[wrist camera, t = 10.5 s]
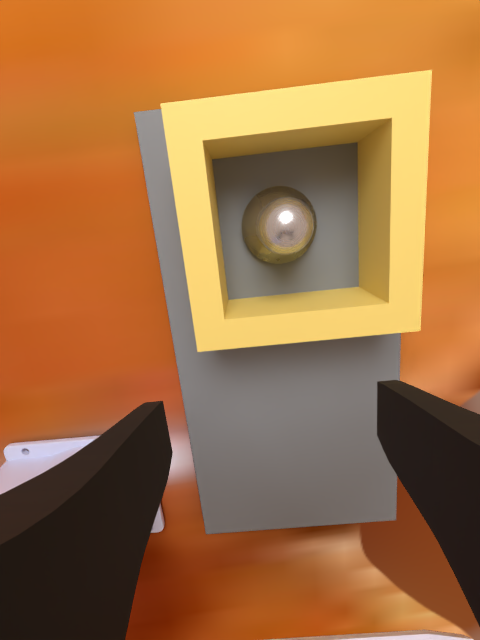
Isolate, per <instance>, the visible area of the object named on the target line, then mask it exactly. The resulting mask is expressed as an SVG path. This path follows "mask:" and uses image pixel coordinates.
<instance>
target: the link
mask: <svg viewBox="0 0 480 640" xmlns="http://www.w3.org/2000/svg"><path fill="white" fill-rule="evenodd" d="M431 77H432V70H427V71H419V72H411V73H403V74H395V75H387V76H379V77H371V78H363V79H355V80H347V81H339V82H331V83H323V84H315V85H307V86H298V87H290V88H282V89H274V90H266V91H258V92H250V93H242V94H234V95H226V96H218V97H210V98H202V99H194V100H186V101H178V102H170V103H162V104H161V111H162V118H163V124H164V131H165V138H166V144H167V151H168V158H169V164H170V171H171V178H172V185H173V191H174V198H175V205H176V211H177V218H178V225H179V231H180V238H181V245H182V251H183V258H184V265H185V271H186V278H187V285H188V292H189V298H190V305H191V312H192V318H193V325H194V332H195V338H196V345H197V352H203V351H214V350H224V349H235V348H245V347H256V346H266V345H277V344H287V343H298V342H308V341H319V340H330V339H340V338H351V337H361V336H372V335H382V334H393V333H403V332H414V331H420V329H421V306H422V283H423V260H424V237H425V214H426V191H427V168H428V145H429V123H430V100H431ZM356 142H358V248H359V287H352V288H342V289H332V290H322V291H312V292H302V293H292V294H282V295H272V296H262V297H252V298H242V299H232V300H228V292H227V284H226V275H225V267H224V258H223V250H222V241H221V232H220V224H219V215H218V207H217V198H216V190H215V181H214V173H213V164H212V159H220V158H228V157H237V156H245V155H254V154H262V153H271V152H279V151H288V150H296V149H305V148H313V147H322V146H330V145H339V144H347V143H356Z"/></svg>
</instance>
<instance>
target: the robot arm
mask: <svg viewBox="0 0 480 640" xmlns="http://www.w3.org/2000/svg"><path fill="white" fill-rule="evenodd" d="M377 436H378V439H379V441H380V443H381V446H382V448H383V450H384V452H385V454H386V457H387V459H388V461H389V463H390V464H391V466H392V468H393V469H394V471H395V473H396V474H397V476H398V477H399V479H400V481H401V482H402V484H403V486H404V487H405V489H406V490H407V492H408V493H409V495H410V496H411V498H412V500H413V501H414V503H415V505H416V506H417V508H418V509H419V511H420V512H421V514H422V516H423V517H424V519H425V520H426V522H427V524H428V525H429V527H430V529H431V530H432V532H433V533H434V535H435V537H436V539H437V541H438V542H439V544H440V546H441V548H442V550H443V552H444V554H445V556H446V558H447V560H448V562H449V564H450V566H451V568H452V570H453V572H454V574H455V576H456V578H457V580H458V582H459V584H460V586H461V588H462V590H463V593H464V595H465V597H466V599H467V601H468V603H469V605H470V607H471V609H472V611H473V613H474V615H475V618H476V620H477V622H478V624H479V626H480V415H479V414H477V413H474V412H472V411H469V410H467V409H464V408H462V407H459V406H457V405H455V404H452V403H450V402H448V401H445V400H443V399H441V398H439V397H436V396H434V395H432V394H430V393H427V392H425V391H423V390H421V389H418V388H416V387H414V386H411V385H409V384H407V383H404V382H401V381H398V380H388V381H377ZM25 448H26V449H28V450H29V451H27V450H26V449H25ZM172 453H173V452H172V447H171V442H170V437H169V431H168V426H167V421H166V416H165V410H164V405H163V401H157V402H146V403H144V404H142V405H140V406H139V407H138V408H136V409H135V410H133V411H132V412H131V413H130V414H128V415H127V416H126V417H124V418H123V419H122V420H120V421H119V422H118V423H117V424H115V425H114V426H113V427H111V428H110V429H109V430H107V431H106V432H105V433H103V434H102V435H100V436H89V437H77V438H66V439H54V440H43V441H32V442H20V443H11V444H9V445H8V446H7V447H5V448H4V455H5V458H6V462H5V463H4V464H3V465H2V466H1V467H0V640H125V637H126V632H127V627H128V622H129V618H130V613H131V608H132V603H133V598H134V594H135V589H136V585H137V580H138V576H139V571H140V567H141V563H142V559H143V556H144V552H145V548H146V545H147V542H148V539H149V536H150V533H155V532H161V531H162V530H163V528H164V525H165V522H164V517H163V513H162V508H161V503H160V502H161V499H162V496H163V493H164V490H165V487H166V483H167V480H168V475H169V470H170V464H171V458H172ZM266 640H474V639H471V638H469V637H467V636H465V635H461V634H454V633H446V632H438V631H430V630H412V631H396V632H380V633H364V634H348V635H331V636H315V637H299V638H283V639H266Z"/></svg>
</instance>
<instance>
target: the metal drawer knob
mask: <svg viewBox="0 0 480 640" xmlns="http://www.w3.org/2000/svg"><path fill="white" fill-rule="evenodd" d="M316 228H317V220H316V214H315V211H314V208H313V206H312V204H311V202H310V201H309V200H308V198H307V197H306V196H305V195H304V194H302V193H301V192H300V191H298V190H296V189H294V188H291V187H287V186H274V187H270V188H267V189H264V190H262V191H261V192H259V193H258V194H257V195H255V196H254V197H253V198H252V199H251V201H250V202H249V203H248V205H247V207H246V209H245V211H244V214H243V218H242V235H243V238H244V241H245V243H246V245H247V247H248V248H249V250H250V251H251V252H252V253H253V254H254V255H255V256H256V257H258V258H259V259H261V260H263V261H266V262H269V263H274V264H282V263H287V262H291V261H293V260H295V259H297V258H298V257H300V256H301V255H302V254H304V253H305V252H306V251H307V249H308V248H309V247H310V245H311V243H312V242H313V239H314V237H315V233H316Z"/></svg>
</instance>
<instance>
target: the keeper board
mask: <svg viewBox="0 0 480 640" xmlns="http://www.w3.org/2000/svg"><path fill="white" fill-rule="evenodd" d="M134 115H135V121H136V127H137V133H138V139H139V145H140V151H141V156H142V162H143V168H144V174H145V180H146V186H147V192H148V197H149V203H150V209H151V215H152V221H153V227H154V233H155V238H156V244H157V250H158V256H159V262H160V268H161V274H162V279H163V285H164V291H165V297H166V303H167V309H168V315H169V320H170V326H171V332H172V338H173V344H174V350H175V355H176V361H177V367H178V373H179V379H180V385H181V391H182V396H183V402H184V408H185V414H186V420H187V426H188V432H189V437H190V443H191V449H192V455H193V461H194V467H195V473H196V478H197V484H198V490H199V496H200V502H201V508H202V514H203V519H204V525H205V531H206V534H216V533H229V532H243V531H256V530H269V529H283V528H296V527H310V526H323V525H336V524H350V523H362V522H375V521H376V522H377V521H390V520H396V502H397V474H396V473H395V471H394V469H393V468H392V466H391V464H390V463H389V461H388V459H387V457H386V454H385V452H384V450H383V448H382V446H381V443H380V441H379V439H378V436H377V381H388V380H398V381H400V343H401V333H393V334H382V335H372V336H361V337H351V338H340V339H330V340H319V341H308V342H298V343H287V344H277V345H266V346H256V347H245V348H235V349H224V350H214V351H203V352H197V345H196V338H195V332H194V325H193V318H192V312H191V305H190V298H189V292H188V285H187V278H186V271H185V265H184V258H183V251H182V245H181V238H180V231H179V225H178V218H177V211H176V205H175V198H174V191H173V185H172V178H171V171H170V164H169V158H168V151H167V144H166V138H165V131H164V124H163V118H162V111H161V109H157V110H149V111H141V112H134ZM212 164H213V173H214V181H215V190H216V198H217V207H218V215H219V224H220V232H221V241H222V250H223V258H224V267H225V275H226V284H227V292H228V300H232V299H242V298H252V297H262V296H272V295H282V294H292V293H302V292H312V291H322V290H332V289H342V288H352V287H359V248H358V142H356V143H347V144H339V145H330V146H322V147H313V148H305V149H296V150H288V151H279V152H271V153H262V154H254V155H245V156H237V157H228V158H220V159H212ZM274 186H287V187H291V188H294V189H296V190H298V191H300V192H301V193H302V194H304V195H305V196H306V197H307V198H308V200H309V201H310V202H311V204H312V206H313V208H314V211H315V214H316V220H317V228H316V233H315V237H314V239H313V242H312V243H311V245H310V247H309V248H308V249H307V251H306V252H305V253H304V254H302V255H301V256H300V257H298V258H297V259H295V260H293V261H291V262H287V263H282V264H274V263H269V262H266V261H263V260H261V259H259V258H258V257H256V256H255V255H254V254H253V253H252V252H251V251H250V250H249V248H248V247H247V245H246V243H245V241H244V238H243V235H242V218H243V214H244V211H245V209H246V207H247V205H248V203H249V202H250V201H251V199H252V198H253V197H254V196H255V195H257V194H258V193H259V192H261V191H262V190H264V189H267V188H270V187H274Z"/></svg>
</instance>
